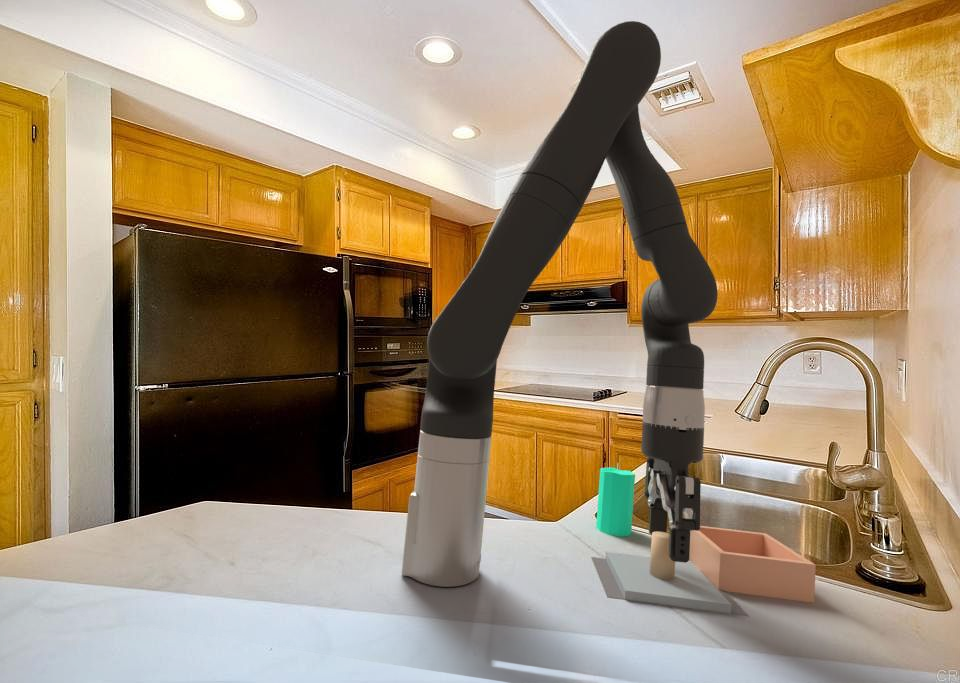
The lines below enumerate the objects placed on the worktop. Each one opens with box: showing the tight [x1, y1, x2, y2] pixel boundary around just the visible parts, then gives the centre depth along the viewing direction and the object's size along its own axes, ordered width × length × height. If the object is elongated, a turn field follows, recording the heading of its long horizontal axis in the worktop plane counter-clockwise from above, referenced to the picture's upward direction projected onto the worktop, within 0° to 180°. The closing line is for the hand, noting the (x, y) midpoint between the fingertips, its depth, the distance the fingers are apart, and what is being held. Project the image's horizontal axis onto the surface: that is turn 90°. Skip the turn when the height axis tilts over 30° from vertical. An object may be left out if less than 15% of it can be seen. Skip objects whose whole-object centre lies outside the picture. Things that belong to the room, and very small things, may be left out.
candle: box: [595, 462, 636, 537], centre depth 79 cm, size 6×6×12 cm
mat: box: [591, 556, 750, 617], centre depth 59 cm, size 16×12×1 cm
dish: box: [689, 525, 817, 604], centre depth 64 cm, size 12×12×5 cm
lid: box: [604, 532, 732, 614], centre depth 59 cm, size 12×12×6 cm
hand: (667, 547), depth 59 cm, fingers open, 8 cm apart
